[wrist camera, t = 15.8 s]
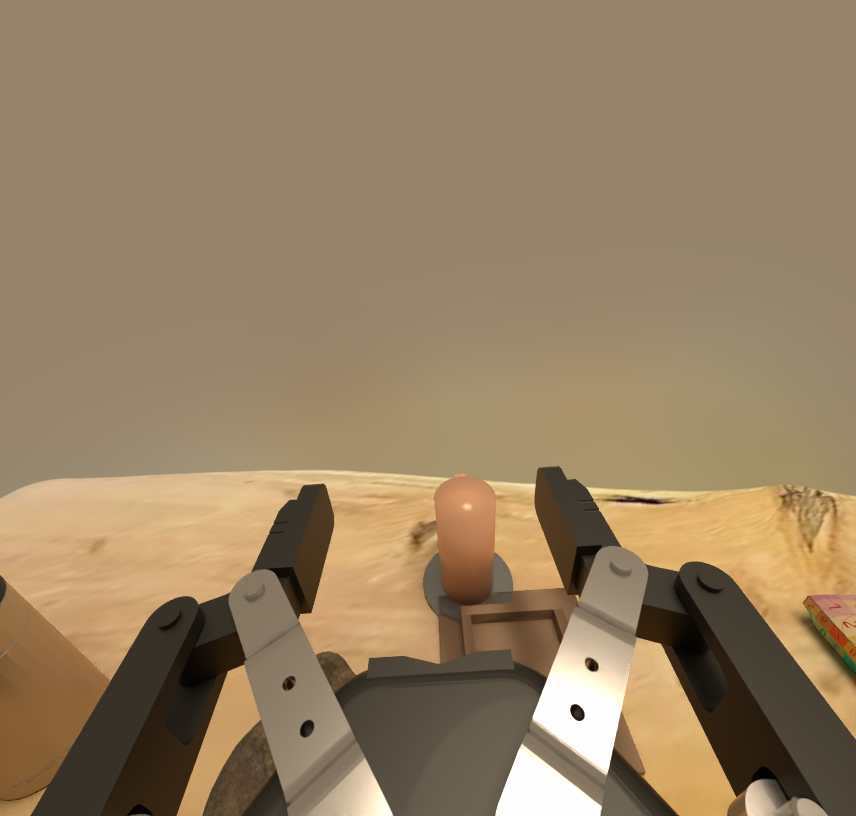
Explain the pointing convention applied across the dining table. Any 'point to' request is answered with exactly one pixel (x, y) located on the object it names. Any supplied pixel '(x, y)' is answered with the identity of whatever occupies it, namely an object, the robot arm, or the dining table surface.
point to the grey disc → (435, 590)
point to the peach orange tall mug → (466, 538)
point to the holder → (521, 638)
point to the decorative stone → (259, 755)
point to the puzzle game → (836, 623)
